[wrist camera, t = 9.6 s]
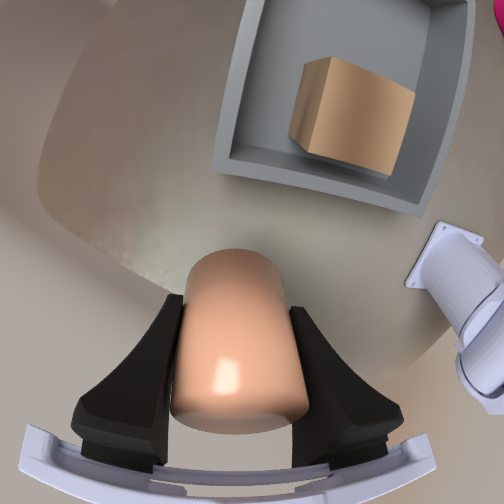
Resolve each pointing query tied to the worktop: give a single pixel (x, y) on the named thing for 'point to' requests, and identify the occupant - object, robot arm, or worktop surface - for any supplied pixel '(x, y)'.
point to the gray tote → (358, 53)
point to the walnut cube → (350, 114)
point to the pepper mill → (499, 13)
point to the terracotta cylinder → (236, 348)
